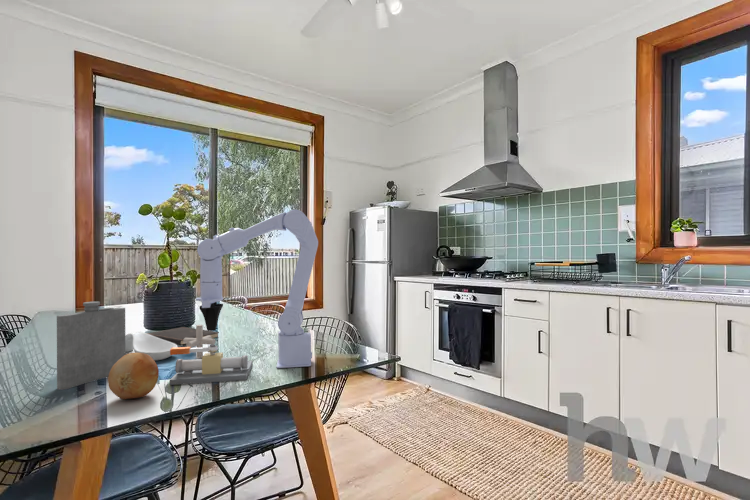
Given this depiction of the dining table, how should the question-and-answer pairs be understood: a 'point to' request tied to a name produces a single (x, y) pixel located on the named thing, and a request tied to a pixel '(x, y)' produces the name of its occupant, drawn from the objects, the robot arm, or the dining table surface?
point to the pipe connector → (199, 340)
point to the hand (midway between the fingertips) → (211, 330)
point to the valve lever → (192, 350)
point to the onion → (133, 376)
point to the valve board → (211, 376)
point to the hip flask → (89, 344)
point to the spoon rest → (148, 345)
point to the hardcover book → (180, 334)
